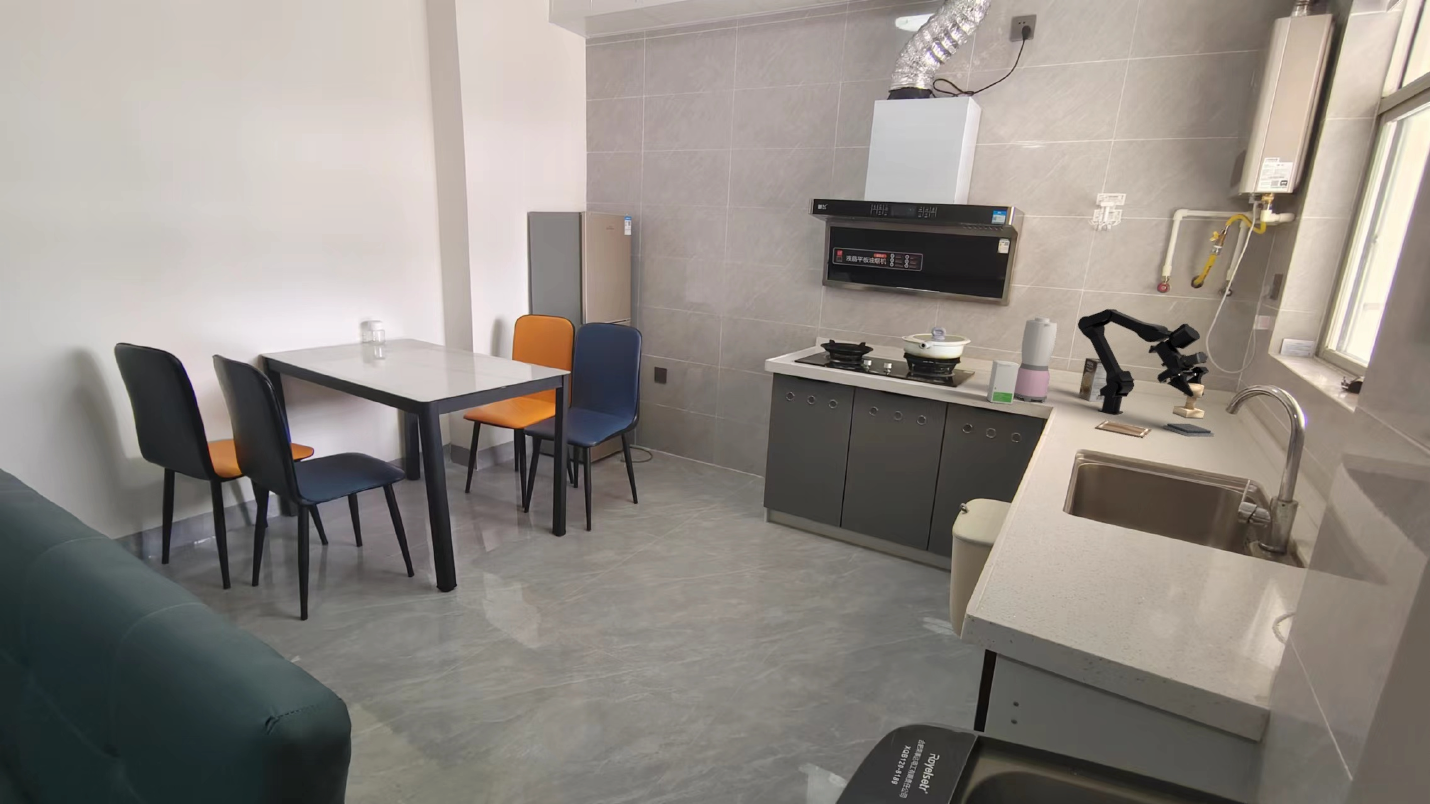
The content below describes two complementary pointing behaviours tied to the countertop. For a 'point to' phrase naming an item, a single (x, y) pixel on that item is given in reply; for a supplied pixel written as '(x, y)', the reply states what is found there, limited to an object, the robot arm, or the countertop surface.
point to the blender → (1035, 359)
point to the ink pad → (1188, 430)
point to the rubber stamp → (1191, 404)
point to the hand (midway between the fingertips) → (1197, 395)
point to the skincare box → (1002, 382)
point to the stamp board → (1123, 429)
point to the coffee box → (1093, 380)
